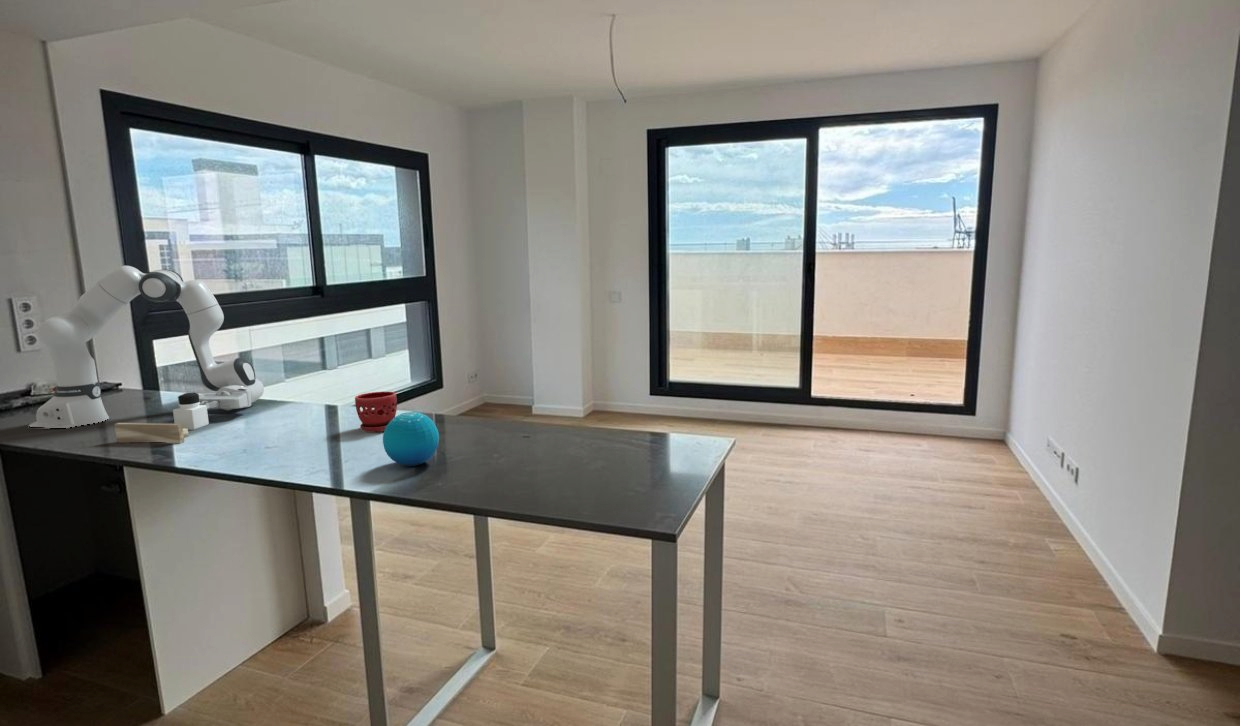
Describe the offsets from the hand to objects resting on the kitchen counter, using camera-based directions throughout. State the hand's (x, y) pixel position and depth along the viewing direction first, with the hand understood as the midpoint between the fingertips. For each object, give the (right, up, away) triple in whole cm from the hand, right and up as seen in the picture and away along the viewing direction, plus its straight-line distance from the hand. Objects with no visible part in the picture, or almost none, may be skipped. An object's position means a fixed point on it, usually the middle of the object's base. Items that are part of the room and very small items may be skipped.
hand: (202, 406), depth 227 cm
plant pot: (+66, -7, -10) cm, 67 cm away
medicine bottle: (0, -7, -5) cm, 8 cm away
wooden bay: (-2, -9, -19) cm, 21 cm away
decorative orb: (+90, -13, -47) cm, 103 cm away
